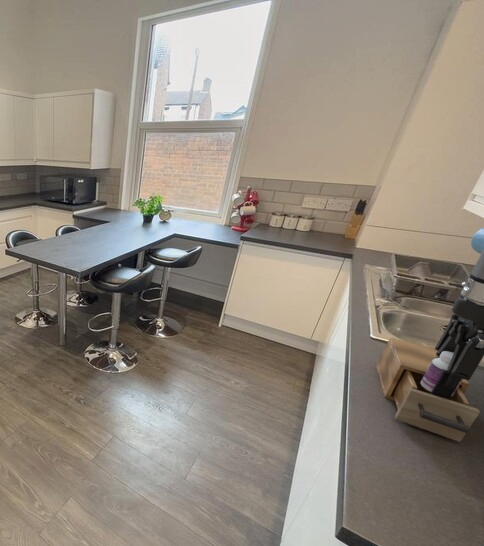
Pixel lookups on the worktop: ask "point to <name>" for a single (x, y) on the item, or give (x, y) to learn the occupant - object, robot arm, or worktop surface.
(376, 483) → the worktop surface
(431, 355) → the cabinet
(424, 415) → the drawer
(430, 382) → the pill bottle
